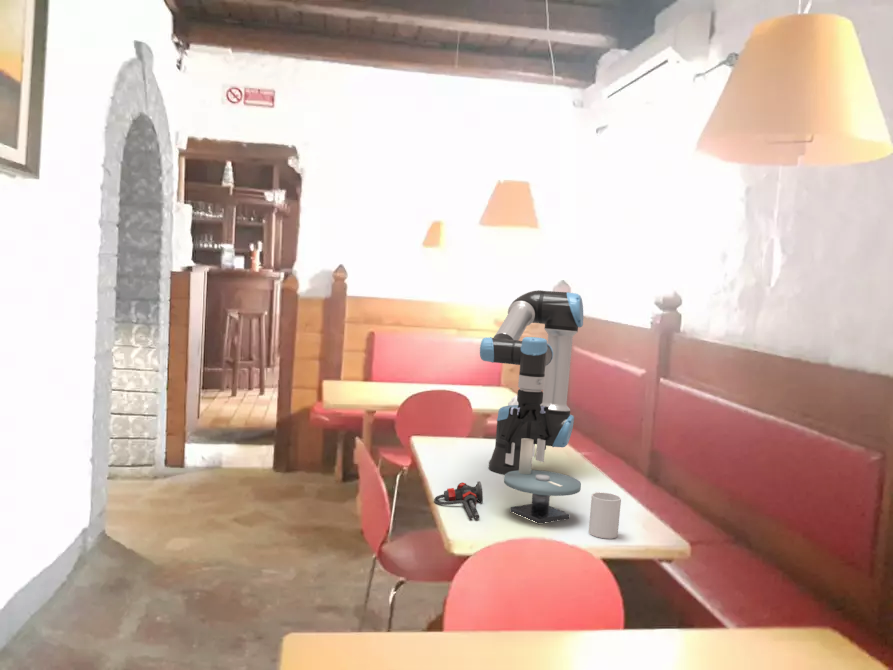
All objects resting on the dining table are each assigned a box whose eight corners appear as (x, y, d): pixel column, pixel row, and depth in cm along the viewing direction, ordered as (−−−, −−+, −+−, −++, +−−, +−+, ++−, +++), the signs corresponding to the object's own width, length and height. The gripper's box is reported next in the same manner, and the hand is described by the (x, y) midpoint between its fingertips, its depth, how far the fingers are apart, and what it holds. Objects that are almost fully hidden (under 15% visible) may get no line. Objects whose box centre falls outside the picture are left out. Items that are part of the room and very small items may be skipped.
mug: (622, 539, 208) (625, 501, 207) (593, 538, 207) (597, 500, 206) (606, 524, 220) (609, 488, 219) (579, 524, 219) (582, 487, 218)
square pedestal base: (510, 512, 225) (512, 482, 225) (540, 507, 233) (542, 478, 232) (538, 524, 216) (541, 493, 215) (568, 518, 223) (571, 488, 222)
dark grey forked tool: (431, 500, 240) (479, 494, 241) (441, 531, 214) (494, 525, 216) (430, 480, 239) (478, 475, 240) (439, 509, 213) (492, 503, 215)
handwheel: (596, 491, 221) (600, 451, 220) (537, 499, 208) (541, 456, 208) (545, 472, 239) (548, 435, 238) (488, 478, 227) (491, 439, 226)
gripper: (508, 392, 218) (502, 468, 220) (568, 390, 232) (562, 462, 234) (491, 388, 224) (485, 462, 226) (550, 387, 238) (545, 456, 240)
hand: (524, 462), depth 230 cm, fingers open, 11 cm apart
